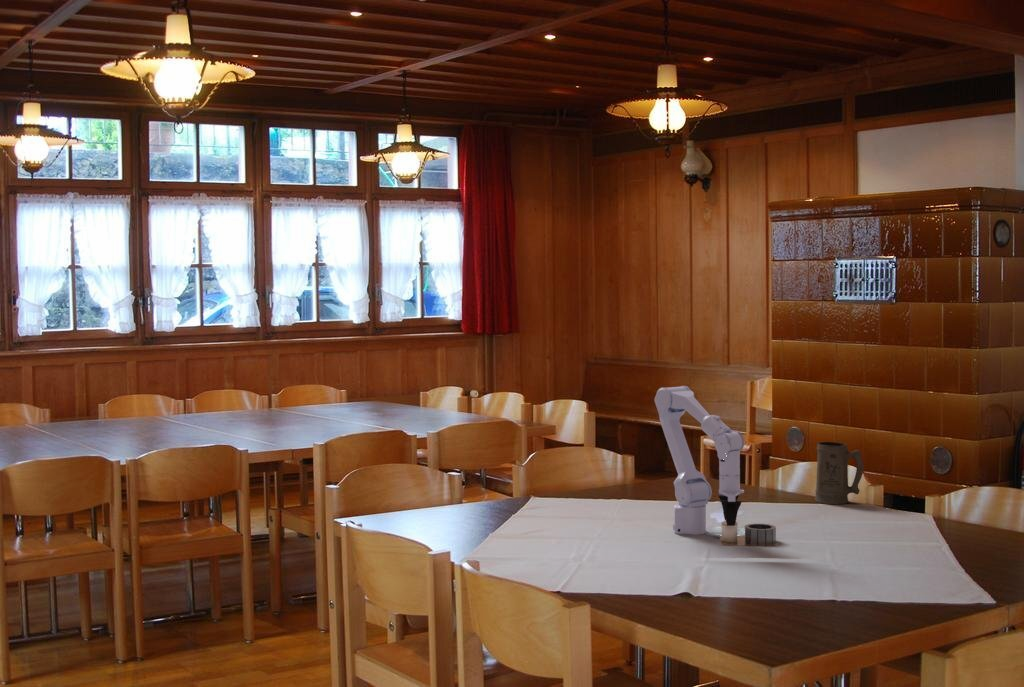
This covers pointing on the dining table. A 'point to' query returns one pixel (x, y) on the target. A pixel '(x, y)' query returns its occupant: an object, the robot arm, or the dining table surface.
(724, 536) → the cylindrical peg
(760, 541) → the peg hole base
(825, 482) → the beer stein
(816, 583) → the dining table surface
